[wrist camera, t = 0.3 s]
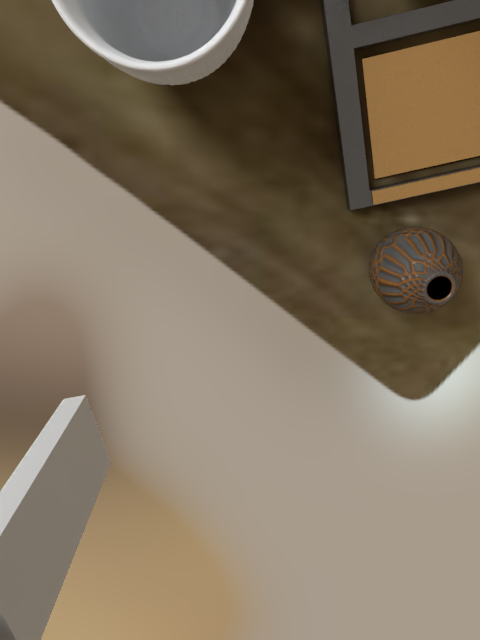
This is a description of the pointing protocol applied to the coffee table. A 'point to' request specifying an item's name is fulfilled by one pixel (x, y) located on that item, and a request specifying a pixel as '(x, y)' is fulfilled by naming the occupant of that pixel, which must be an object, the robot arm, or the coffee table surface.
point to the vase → (416, 270)
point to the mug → (159, 34)
